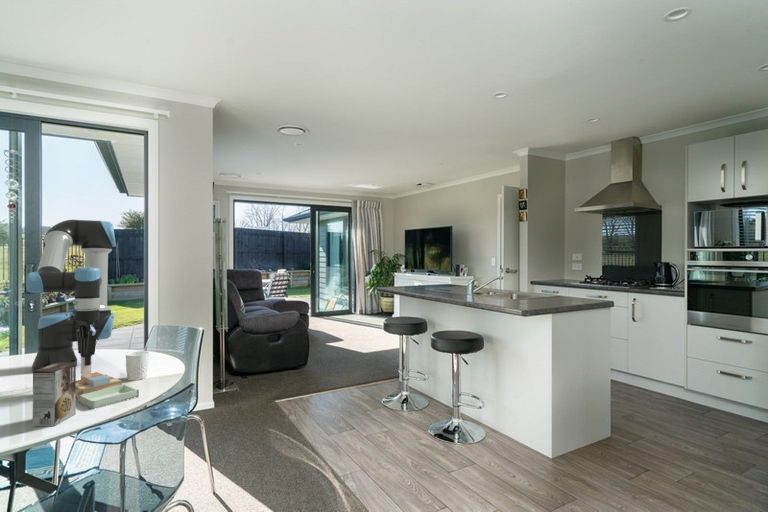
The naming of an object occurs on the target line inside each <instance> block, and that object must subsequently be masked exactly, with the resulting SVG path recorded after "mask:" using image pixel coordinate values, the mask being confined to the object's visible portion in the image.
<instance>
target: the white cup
mask: <svg viewBox="0 0 768 512" xmlns="http://www.w3.org/2000/svg"><path fill="white" fill-rule="evenodd" d="M149 354H150V353H149V351H148V350H147V351H145V350H137V351H131V352H127V353H126V354H125V370H126V371H125V372H126V380H127V381H129V382H130V381H132V382H134V381H135V382H136V381H142V380H145V379H146V378H147V377H148V369H149V368H148V367H149Z"/></svg>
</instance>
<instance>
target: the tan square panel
mask: <svg viewBox="0 0 768 512" xmlns="http://www.w3.org/2000/svg"><path fill="white" fill-rule="evenodd" d="M105 375H106V376H108V377H110V383H107V384H103V385H98V386H91V385H89V384H87V383H84V382H82V381H81V379H79V380H77V379H76V399H77V400H78V401H79V395H82V394H86V393H91V392H95V391H99V390H103V389H107V388H112V387H116V386H120V385H123V380H120V379H118V378H116V377H113V376H110V375H108V374H105Z"/></svg>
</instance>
